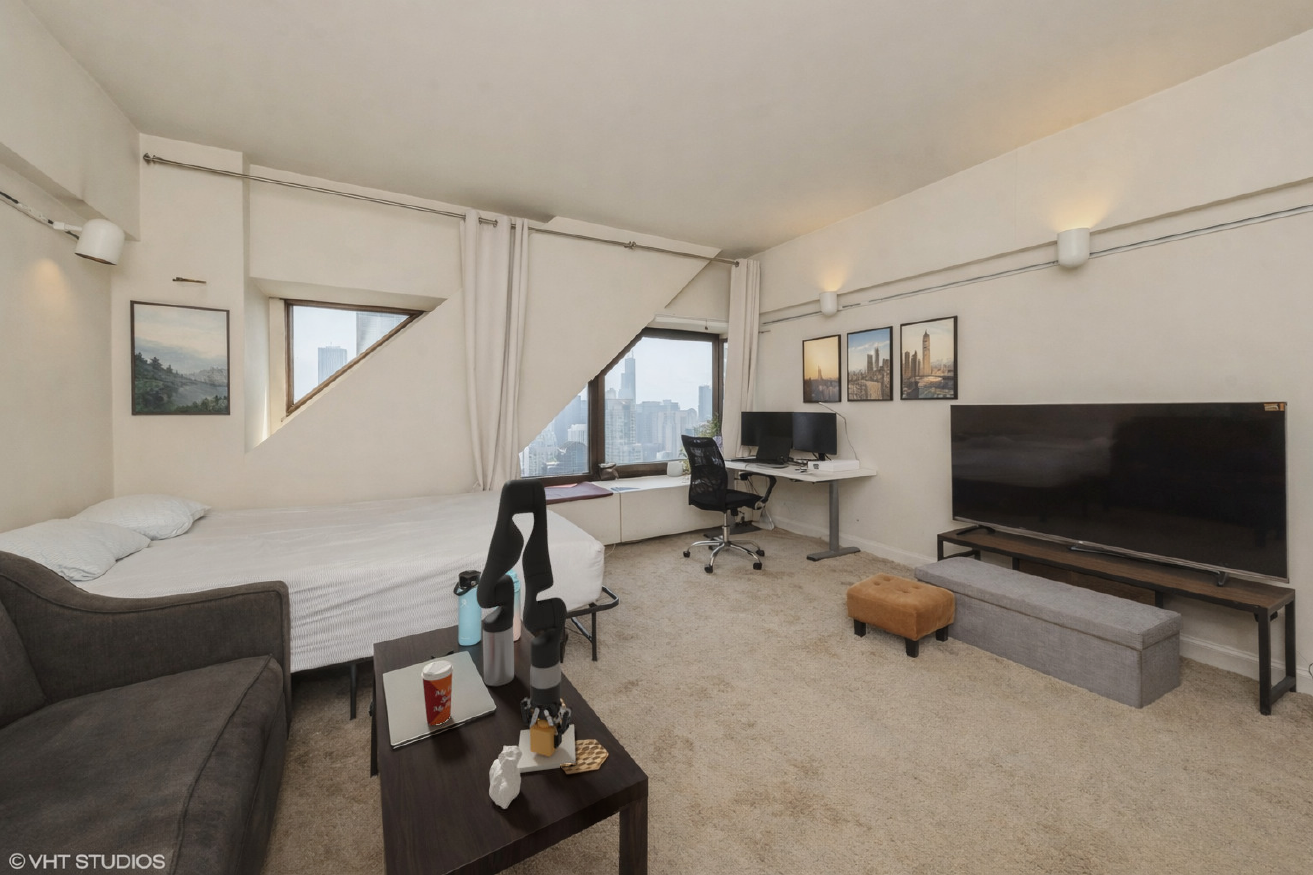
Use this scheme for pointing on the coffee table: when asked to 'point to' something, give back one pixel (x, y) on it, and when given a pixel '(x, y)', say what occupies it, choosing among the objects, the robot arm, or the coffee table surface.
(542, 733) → the domed orange cube
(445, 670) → the coffee cup
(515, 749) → the bust
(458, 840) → the coffee table surface
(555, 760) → the plate
